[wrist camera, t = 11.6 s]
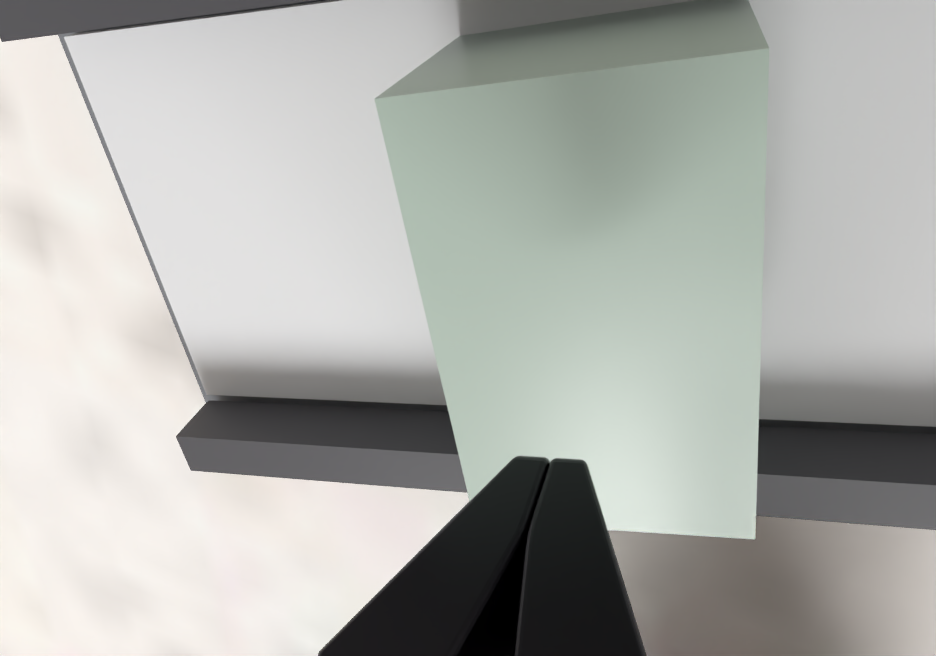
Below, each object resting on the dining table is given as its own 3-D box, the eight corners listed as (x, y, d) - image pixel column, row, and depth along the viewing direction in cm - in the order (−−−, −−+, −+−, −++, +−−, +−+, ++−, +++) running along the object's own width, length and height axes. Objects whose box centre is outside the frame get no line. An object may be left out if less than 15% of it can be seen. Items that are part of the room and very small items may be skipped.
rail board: (1187, 459, 16) (1280, 568, 13) (234, 411, 23) (179, 477, 20) (1557, -318, 9) (1868, -383, 7) (58, -54, 16) (-55, -40, 14)
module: (740, 384, 16) (755, 539, 12) (519, 383, 17) (474, 521, 14) (745, -8, 12) (769, 49, 8) (459, 36, 14) (374, 99, 10)
